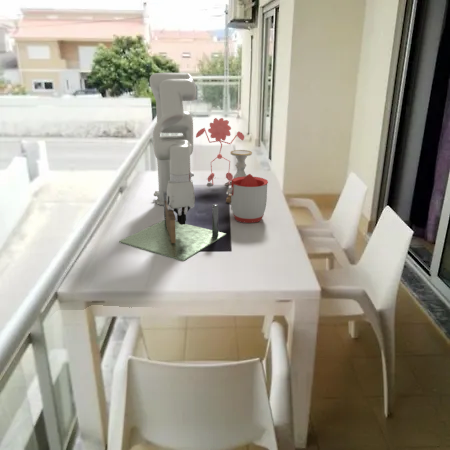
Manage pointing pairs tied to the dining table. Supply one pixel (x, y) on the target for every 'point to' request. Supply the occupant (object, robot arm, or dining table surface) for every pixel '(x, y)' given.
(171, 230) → the gate
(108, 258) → the dining table surface
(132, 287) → the dining table surface
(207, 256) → the dining table surface
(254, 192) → the citrus juicer
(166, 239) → the gate frame
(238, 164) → the candle holder
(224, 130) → the figurine
